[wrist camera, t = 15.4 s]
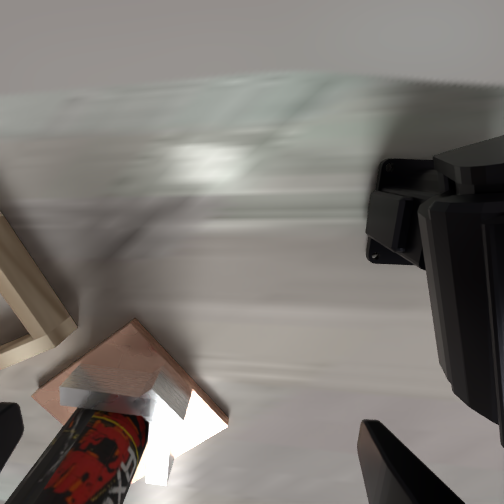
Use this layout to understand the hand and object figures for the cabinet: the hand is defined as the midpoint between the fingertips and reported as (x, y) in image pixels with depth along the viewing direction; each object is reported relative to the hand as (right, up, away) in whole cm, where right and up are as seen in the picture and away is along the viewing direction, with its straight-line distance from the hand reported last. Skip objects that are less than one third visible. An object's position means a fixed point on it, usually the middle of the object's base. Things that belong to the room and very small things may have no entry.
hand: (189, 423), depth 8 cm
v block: (-8, -8, +16) cm, 19 cm away
